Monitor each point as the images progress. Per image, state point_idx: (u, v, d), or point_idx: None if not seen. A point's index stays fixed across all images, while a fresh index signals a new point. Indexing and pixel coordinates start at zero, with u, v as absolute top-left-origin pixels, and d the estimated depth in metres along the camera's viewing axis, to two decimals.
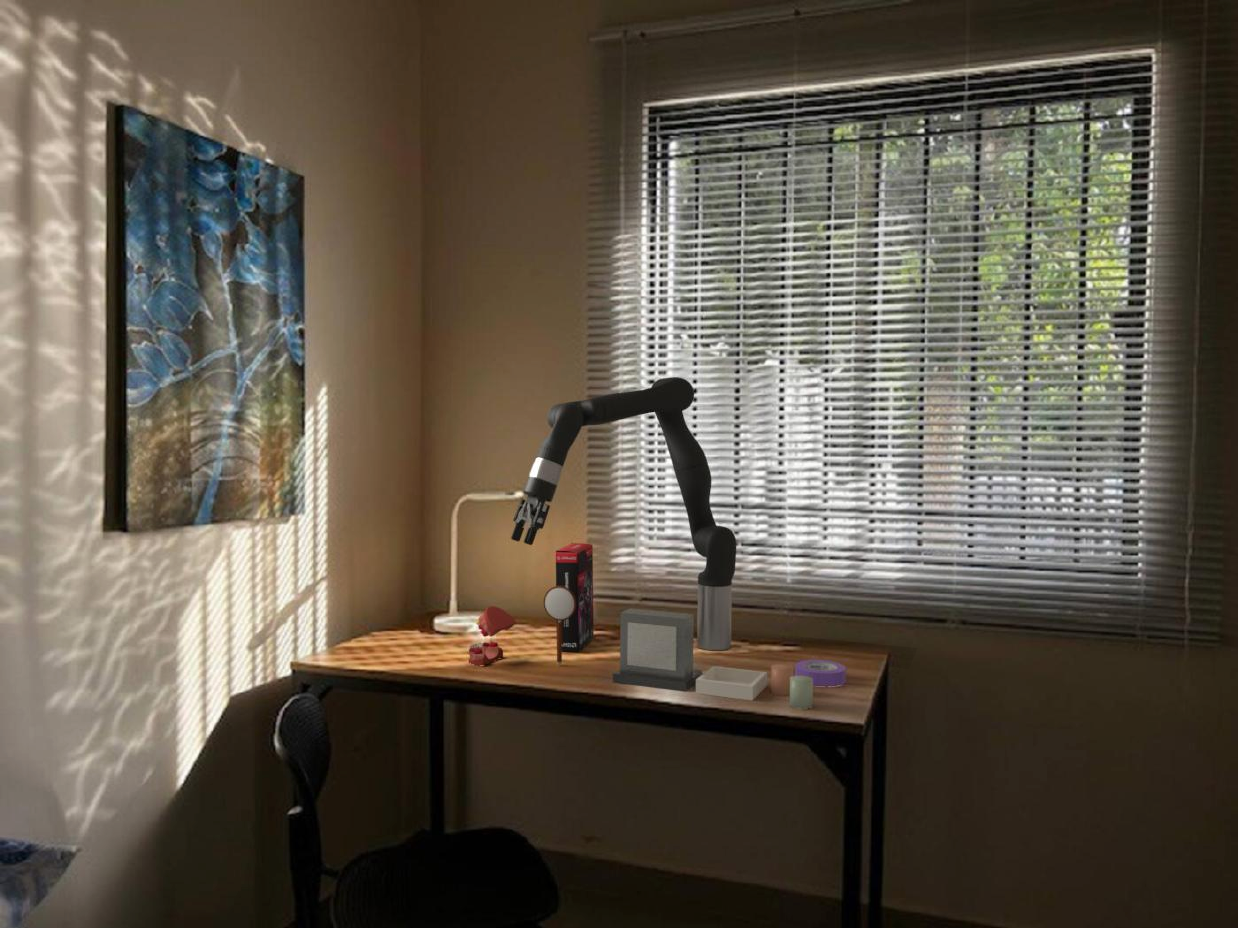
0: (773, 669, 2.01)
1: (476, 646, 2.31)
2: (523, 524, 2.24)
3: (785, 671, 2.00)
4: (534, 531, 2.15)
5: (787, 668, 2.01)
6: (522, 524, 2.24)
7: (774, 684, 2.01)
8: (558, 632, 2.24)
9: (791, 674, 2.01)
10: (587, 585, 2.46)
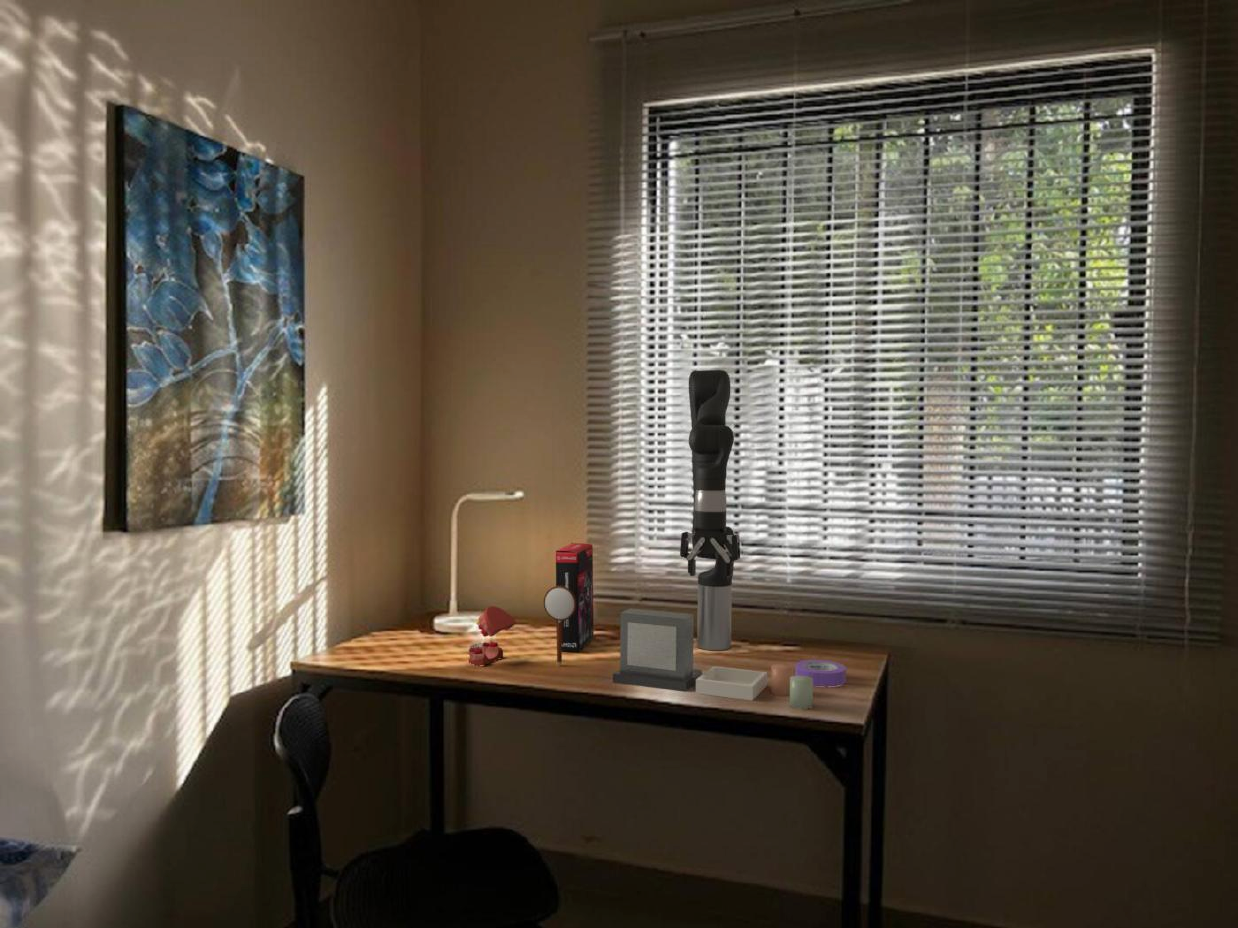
0: (773, 669, 2.01)
1: (476, 646, 2.31)
2: (694, 557, 2.17)
3: (785, 671, 2.00)
4: (731, 564, 2.13)
5: (787, 668, 2.01)
6: (694, 557, 2.17)
7: (774, 684, 2.01)
8: (558, 632, 2.24)
9: (791, 674, 2.01)
10: (587, 585, 2.46)
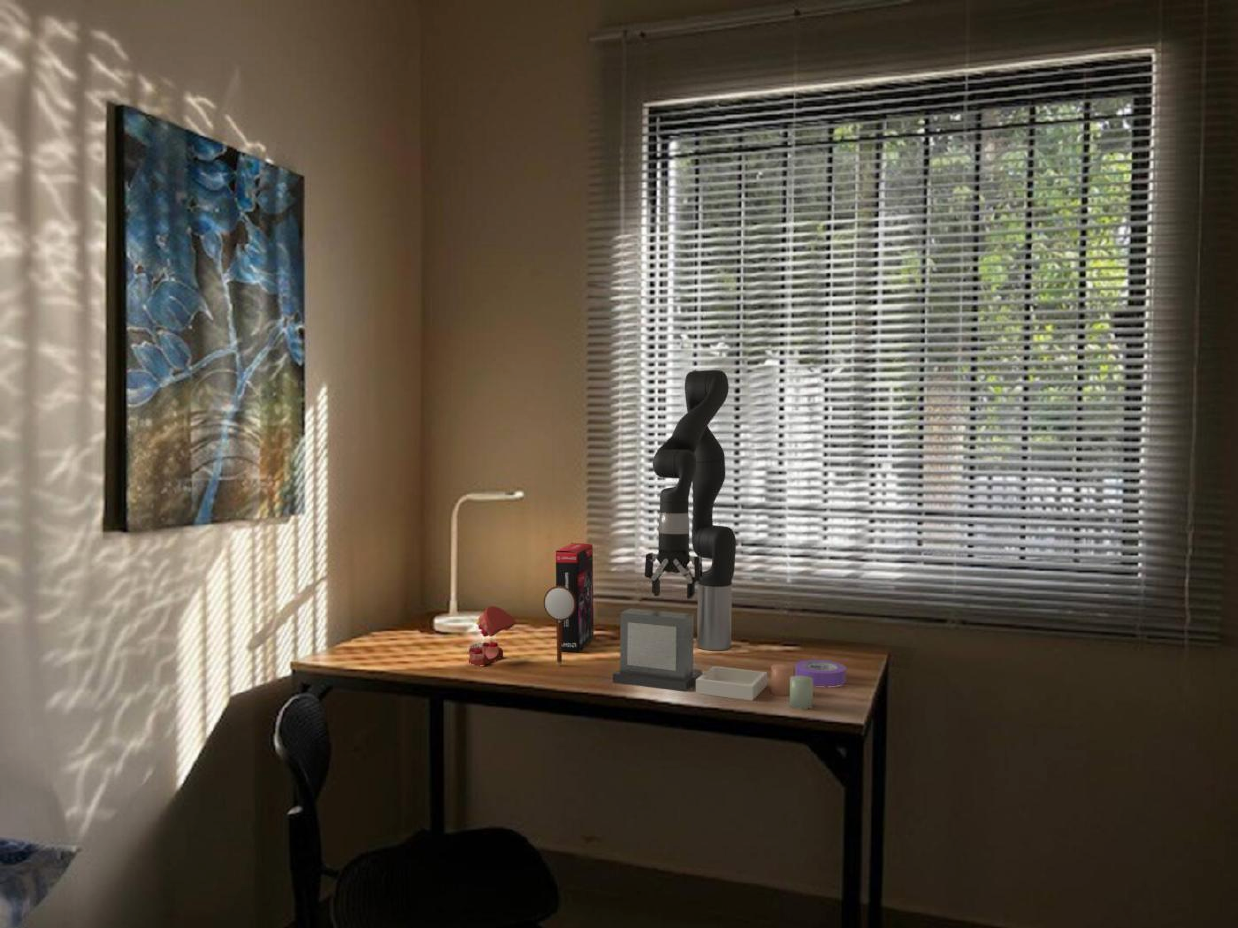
0: (773, 669, 2.01)
1: (476, 646, 2.31)
2: (658, 577, 2.23)
3: (785, 671, 2.00)
4: (694, 584, 2.19)
5: (787, 668, 2.01)
6: (658, 577, 2.23)
7: (774, 684, 2.01)
8: (558, 632, 2.24)
9: (791, 674, 2.01)
10: (587, 585, 2.46)
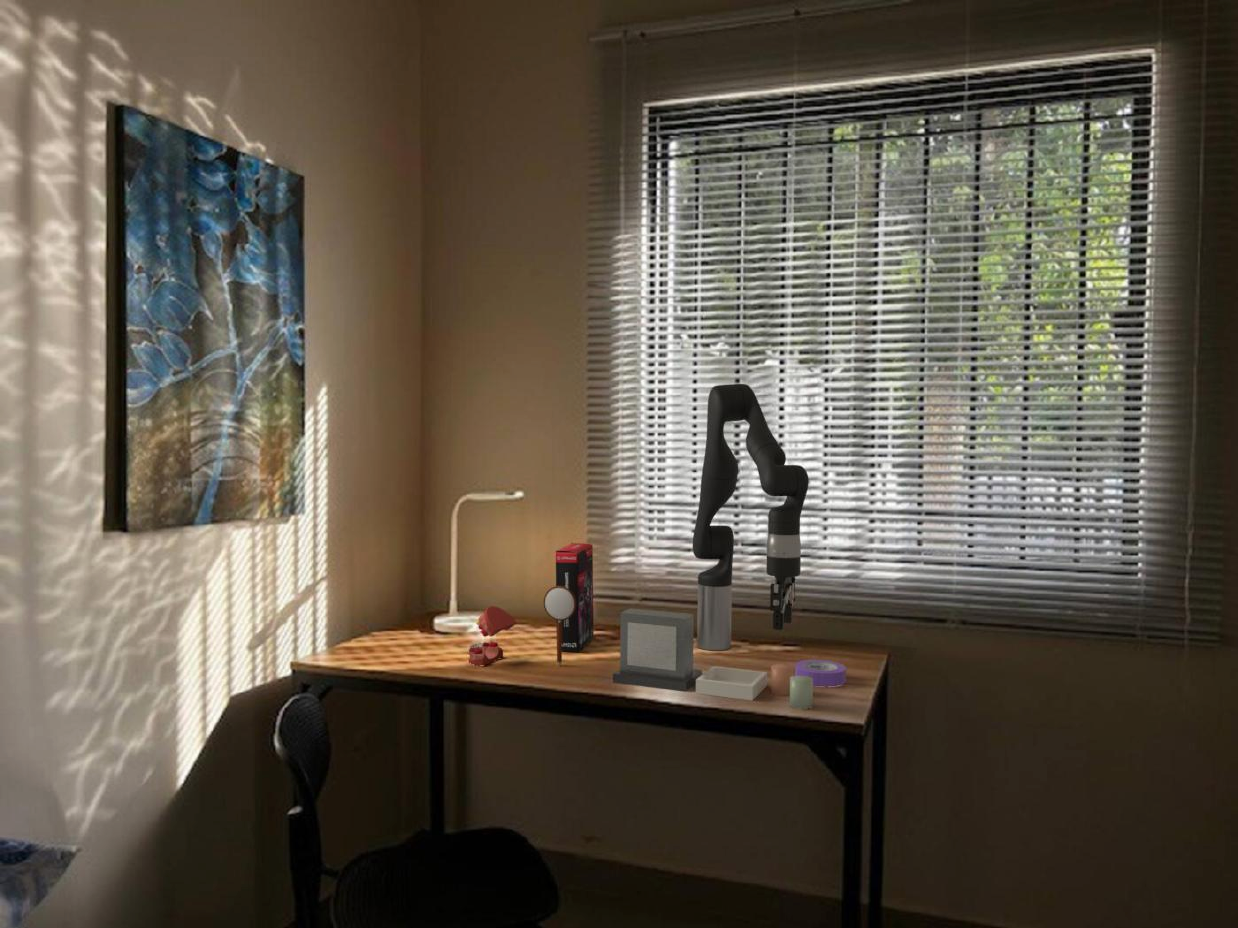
0: (773, 669, 2.01)
1: (476, 646, 2.31)
2: (789, 603, 2.05)
3: (785, 671, 2.00)
4: (778, 615, 1.97)
5: (787, 668, 2.01)
6: (788, 604, 2.05)
7: (774, 684, 2.01)
8: (558, 632, 2.24)
9: (791, 674, 2.01)
10: (587, 585, 2.46)
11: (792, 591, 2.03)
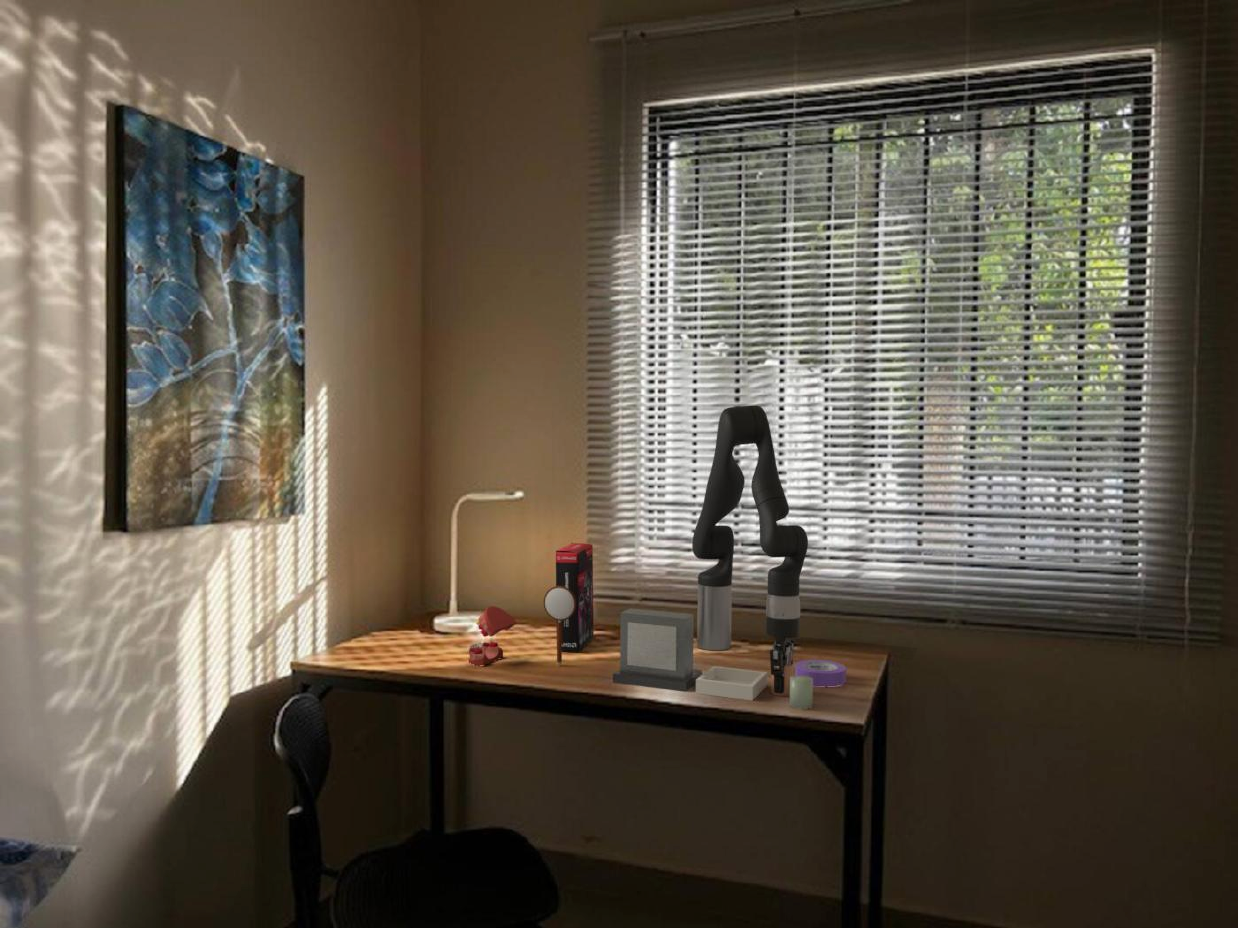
0: None
1: (476, 646, 2.31)
2: None
3: (785, 671, 2.00)
4: (779, 678, 1.99)
5: (787, 668, 2.01)
6: None
7: None
8: (558, 632, 2.24)
9: (791, 674, 2.01)
10: (587, 585, 2.46)
11: (791, 652, 2.03)
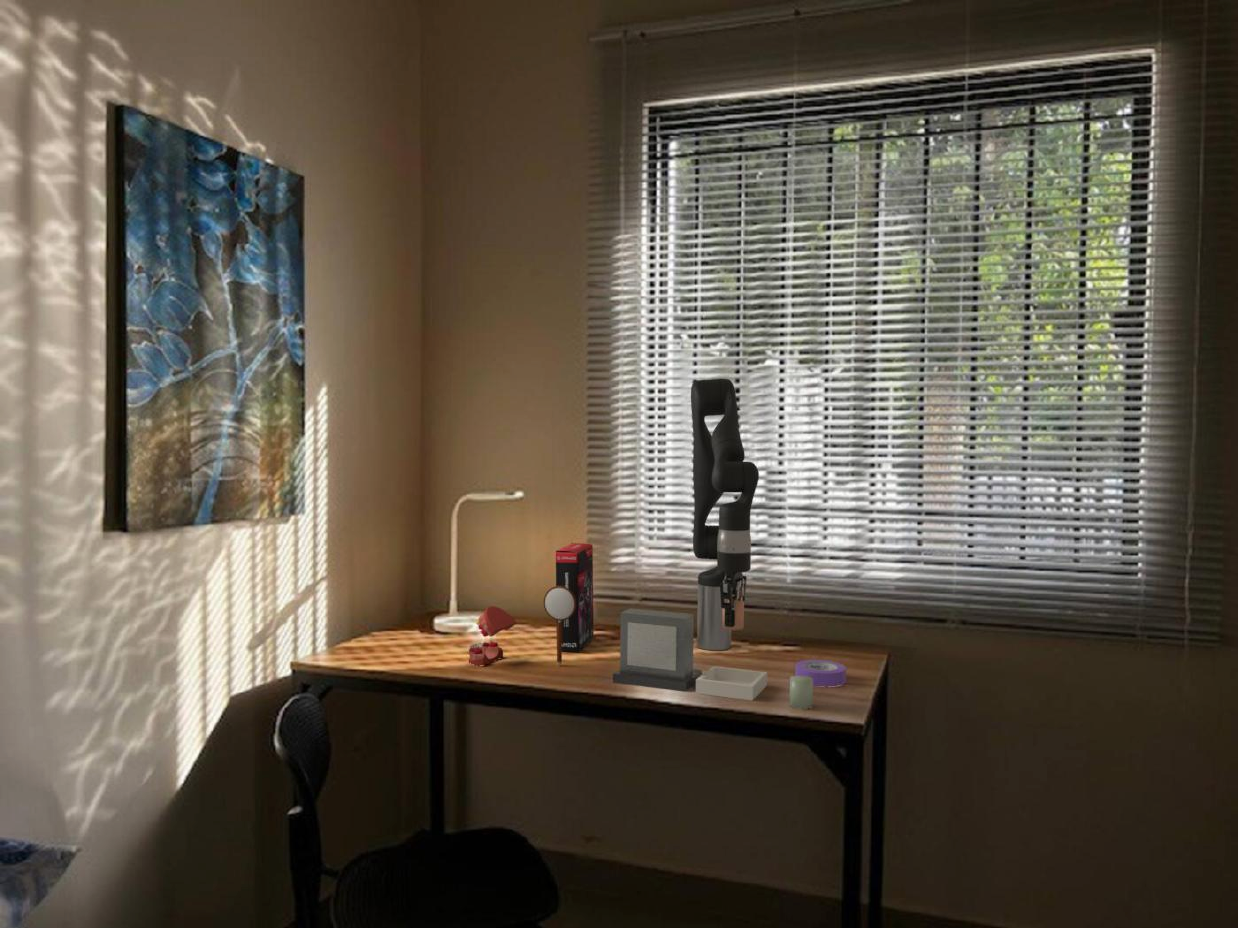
0: None
1: (476, 646, 2.31)
2: None
3: (736, 605, 2.02)
4: (729, 612, 2.01)
5: (738, 602, 2.03)
6: None
7: None
8: (558, 632, 2.24)
9: (742, 608, 2.03)
10: (587, 585, 2.46)
11: (742, 587, 2.05)
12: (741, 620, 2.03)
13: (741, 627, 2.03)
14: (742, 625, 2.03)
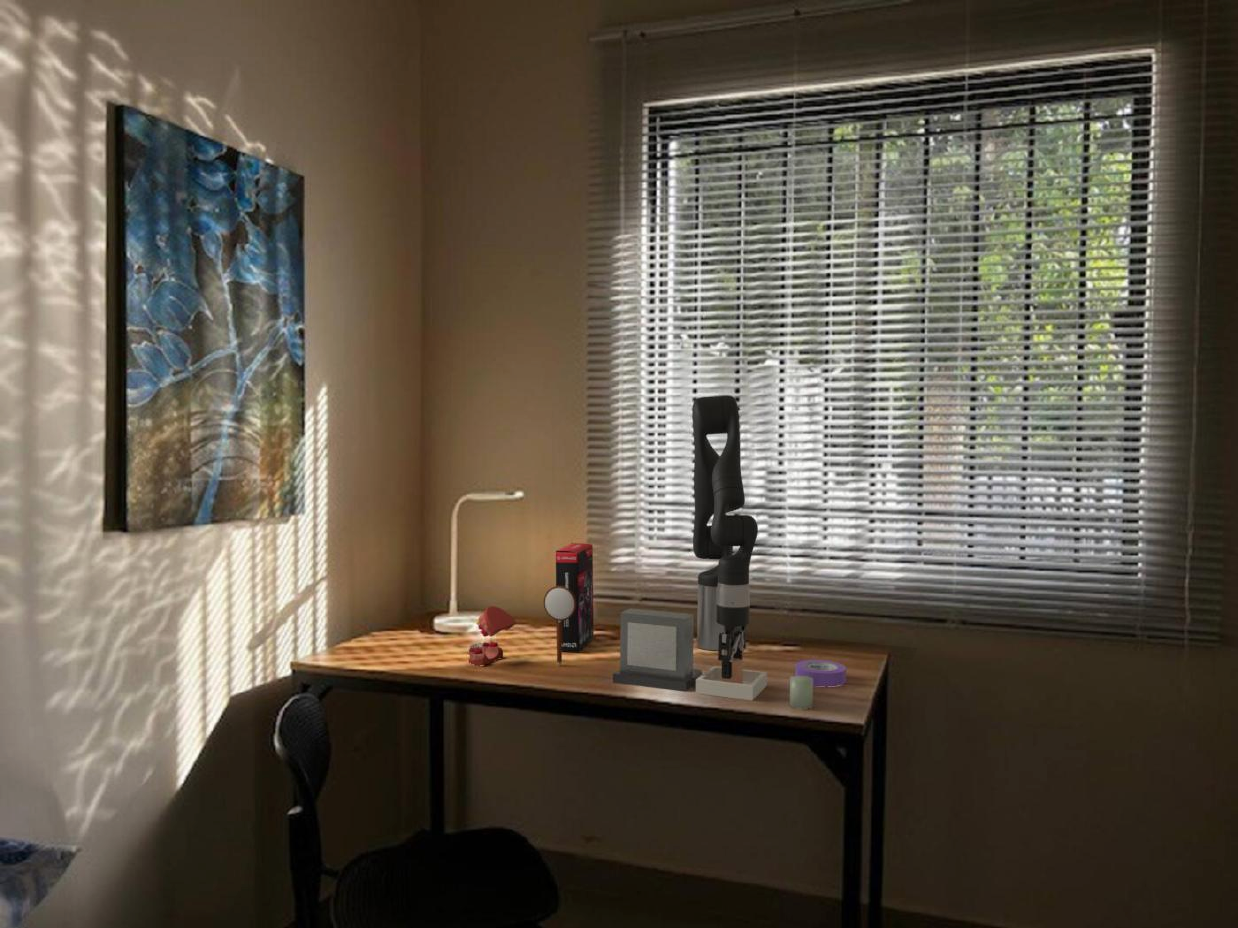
0: None
1: (476, 646, 2.31)
2: (740, 650, 2.08)
3: (735, 665, 2.03)
4: (726, 664, 2.00)
5: (737, 662, 2.03)
6: (739, 651, 2.08)
7: None
8: (558, 632, 2.24)
9: (741, 668, 2.03)
10: (587, 585, 2.46)
11: (742, 639, 2.06)
12: (740, 679, 2.03)
13: None
14: None
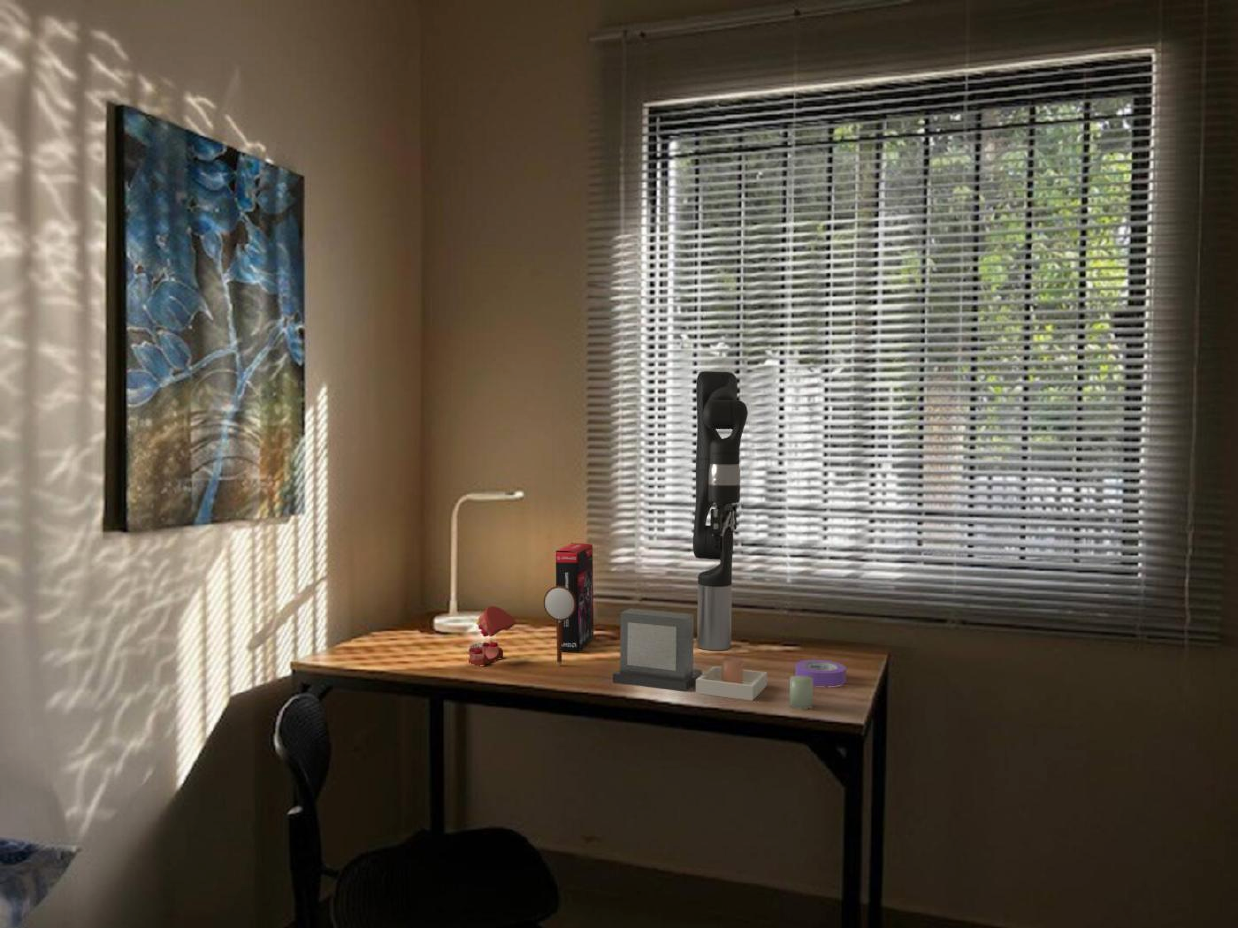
0: (723, 663, 2.04)
1: (476, 646, 2.31)
2: (731, 530, 2.21)
3: (735, 665, 2.03)
4: (718, 538, 2.12)
5: (737, 662, 2.03)
6: (730, 530, 2.21)
7: (724, 677, 2.04)
8: (558, 632, 2.24)
9: (741, 668, 2.03)
10: (587, 585, 2.46)
11: (732, 518, 2.18)
12: (740, 679, 2.03)
13: None
14: None
